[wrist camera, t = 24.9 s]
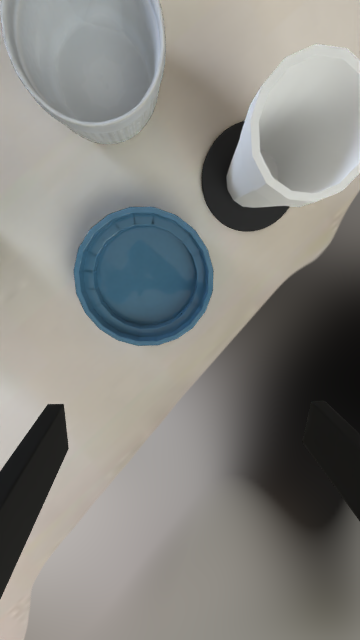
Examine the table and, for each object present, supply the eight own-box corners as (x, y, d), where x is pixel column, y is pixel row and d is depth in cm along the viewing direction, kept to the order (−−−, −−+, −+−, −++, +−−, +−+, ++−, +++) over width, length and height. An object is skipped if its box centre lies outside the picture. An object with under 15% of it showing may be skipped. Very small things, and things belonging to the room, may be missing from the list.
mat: (182, 165, 29) (182, 164, 29) (267, 96, 28) (269, 94, 27) (235, 250, 32) (236, 250, 32) (314, 192, 31) (316, 191, 31)
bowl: (57, 264, 31) (43, 266, 28) (158, 183, 30) (158, 173, 26) (137, 356, 36) (134, 369, 32) (230, 290, 34) (238, 295, 30)
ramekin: (36, 137, 27) (-5, 101, 21) (45, -15, 24) (0, -116, 17) (152, 169, 29) (149, 145, 22) (177, 31, 26) (181, -46, 19)
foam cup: (305, 165, 30) (407, 104, 17) (261, 235, 32) (325, 226, 19) (240, 116, 28) (303, 8, 15) (199, 193, 30) (224, 153, 17)
